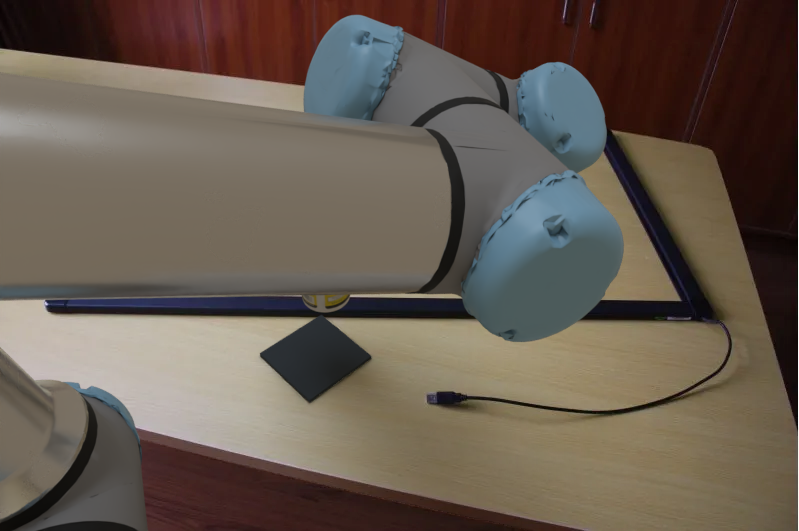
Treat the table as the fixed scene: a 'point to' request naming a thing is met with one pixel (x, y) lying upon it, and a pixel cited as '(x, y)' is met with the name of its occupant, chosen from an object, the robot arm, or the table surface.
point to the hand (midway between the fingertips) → (299, 261)
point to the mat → (315, 357)
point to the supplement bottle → (325, 302)
